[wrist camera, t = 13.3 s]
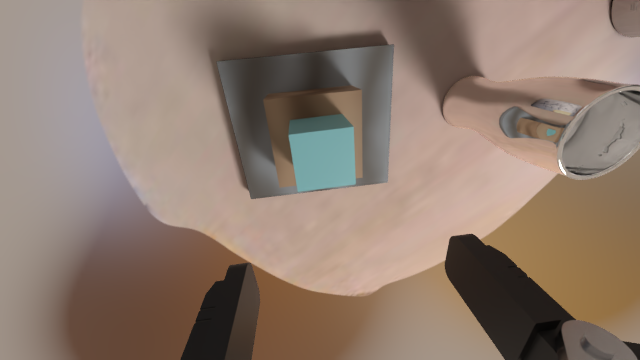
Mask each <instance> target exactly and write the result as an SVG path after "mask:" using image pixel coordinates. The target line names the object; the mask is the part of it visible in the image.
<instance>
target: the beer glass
mask: <svg viewBox="0 0 640 360" xmlns="http://www.w3.org/2000/svg"><path fill="white" fill-rule="evenodd" d="M442 110H443V116H444V118H445V120H446V121H447V122H448V123H449V124H450V125H452V126H454V127H458V128H466V129H471V130H474V131H476V132H477V133H479V134H480V135H482V136H483V137H484V138H485V139H487V140H488V141H490V142H491V143H492V144H494V145H495V146H496V147H498V148H500V149H501V150H503V151H504V152H506V153H508V154H510V155H512V156H514V157H516V158H518V159H520V160H522V161H525V162H528V163H530V164H533V165H535V166H538V167H541V168H544V169H547V170H550V171H553V172H556V173H559V174H562V175H565V176H567V177H569V178H572V179H577V180H585V179H592V178H596V177H599V176H601V175H604V174H606V173H608V172H610V171H612V170H614V169H615V168H617V167H618V166H620V165H621V164H623V163H624V162H625V161H627V160H628V159H629V158H630V157H631V156H633V154H635V152H637V150H638V149H639V148H640V85H630V84H623V83H616V82H610V81H603V80H596V79H588V78H577V77H537V78H527V79H519V80H512V81H503V82H495V81H491V80H489V79H486V78H484V77H481V76H468V77H465V78H463V79H461V80H459V81H458V82H456V83H455V84H454V85H453V86H452V87H451V88H450V89H449V91H448V92H447V94H446V96H445V98H444V101H443V107H442Z"/></svg>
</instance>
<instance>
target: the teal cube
mask: <svg viewBox="0 0 640 360" xmlns="http://www.w3.org/2000/svg"><path fill="white" fill-rule="evenodd" d="M288 135H289V141H290V147H291V154H292V160H293V166H294V172H295V178H296V184H297V190H298V192H302V191H310V190H317V189H325V188H332V187H340V186H347V185H355V184H356V176H355V149H354V127H353V125H352V124H351V123H350V122H349V121H348V120H347V119H346V118H345V116H344V115H343V114H337V115H328V116H320V117H312V118H304V119H295V120H290V123H289V134H288Z"/></svg>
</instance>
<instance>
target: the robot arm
mask: <svg viewBox="0 0 640 360" xmlns="http://www.w3.org/2000/svg"><path fill="white" fill-rule="evenodd" d="M611 13H612V22H613V25H614V27H615V29H616V30H617V31H618V33H620V34H622V35H623V36H627V37H640V0H613V4H612V12H611ZM445 270H446V274H447V276H448V278H449V280H450V281H451V283H452V284H453V286H454V287H455V289H456V290H457V291H458V293H459V294H460V296H461V297H462V299H463V300H464V302H465V303H466V304H467V306H468V307H469V309H470V310H471V312H472V313H473V314H474V316H475V317H476V319H477V320H478V322H479V323H480V324H481V326H482V327H483V328H484V330H485V332H486V333H487V334H488V336H489V337H490V339H491V340H492V342H493V343H494V344H495V346H496V347H497V349H498V350H499V352H500V353H501V354H502V356H503V357H504V359H505V360H640V344H637V343H631V342H624V341H621V340H620V339H619V338H617V337H616V336H615V335H613V334H611V333H610V332H608V331H606V330H605V329H603V328H601V327H599V326H596V325H594V324H591V323H588V322H585V321H580V320H576V319H574V318H573V317H572V316H571V315H570V314H569V313H567V311H565V310H564V309H563V308H562V307H561V306H560V305H559V304H558V303H557V302H556V301H555V300H554V299H553V298H551V297H550V296H549V295H548V294H547V293H546V292H545V291H544V290H543V289H542V288H541V287H540V286H539V285H538V284H536V283H535V282H534V281H533V280H532V279H531V278H530V277H529V278H528V277H527V274H526V273H525V272H523V271H522V270H521V269H520V268H518V267H517V265H516V264H515V263H514V262H513V261H512V260H511V259H509V258H508V257H507V256H506V255H505V254H504V253H502V252H500V251H498V250H497V249H495V248H493V247H491V246H490V245H487V246H486V245H484V243H482V241H481V240H479V239H478V238H477V237H476V236H475V235H473V234H466V235H458V236H452V237H451V238H450V240H449V245H448V250H447V256H446V261H445ZM259 305H260V294H259V288H258V285H257V281H256V278H255V275H254V271H253V268H252V265H251V263H243V264H236V265H230V266H229V268H228V270H227V273H226V276H225V279H224V280H223V281H217V282H215V283H214V285H213V286H212V287H211V288H210V290H209V291H208V292H207V293H206V295H205V298H204V300H203V303H202V305H201V308H200V311H199V313H198V316H197V318H196V323H195V324H194V326H193V329H192V331H191V334H190V336H189V339H188V342H187V344H186V347H185V350H184V352H183V355H182V357H181V360H251V359H252V352H253V345H254V338H255V332H256V325H257V318H258V311H259Z"/></svg>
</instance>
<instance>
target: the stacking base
mask: <svg viewBox="0 0 640 360" xmlns="http://www.w3.org/2000/svg"><path fill="white" fill-rule="evenodd" d="M393 54H394V44H392V45H382V46H372V47H361V48H351V49H341V50H330V51H320V52H310V53H299V54H289V55H279V56H268V57H258V58H248V59H237V60H227V61H217V66H218V70H219V74H220V78H221V82H222V86H223V90H224V94H225V98H226V102H227V106H228V110H229V114H230V118H231V122H232V125H233V129H234V133H235V137H236V141H237V145H238V149H239V153H240V157H241V161H242V165H243V169H244V173H245V177H246V181H247V185H248V189H249V193H250V197H251V199H256V198H264V197H272V196H281V195H289V194H297V193H305V192H313V191H322V190H330V189H338V188H346V187H354V186H362V185H371V184H379V183H387V182H388V165H389V142H390V120H391V98H392V76H393ZM337 114H343V115H344V116H345V118H346V119H347V120H348V121H349V122H350V123H351V124H352V125H353V127H354V149H355V176H356V184H355V185H347V186H340V187H332V188H325V189H317V190H310V191H302V192H298V190H297V184H296V178H295V172H294V166H293V160H292V154H291V147H290V141H289V135H288V134H289V123H290V120H295V119H304V118H312V117H320V116H328V115H337Z"/></svg>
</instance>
